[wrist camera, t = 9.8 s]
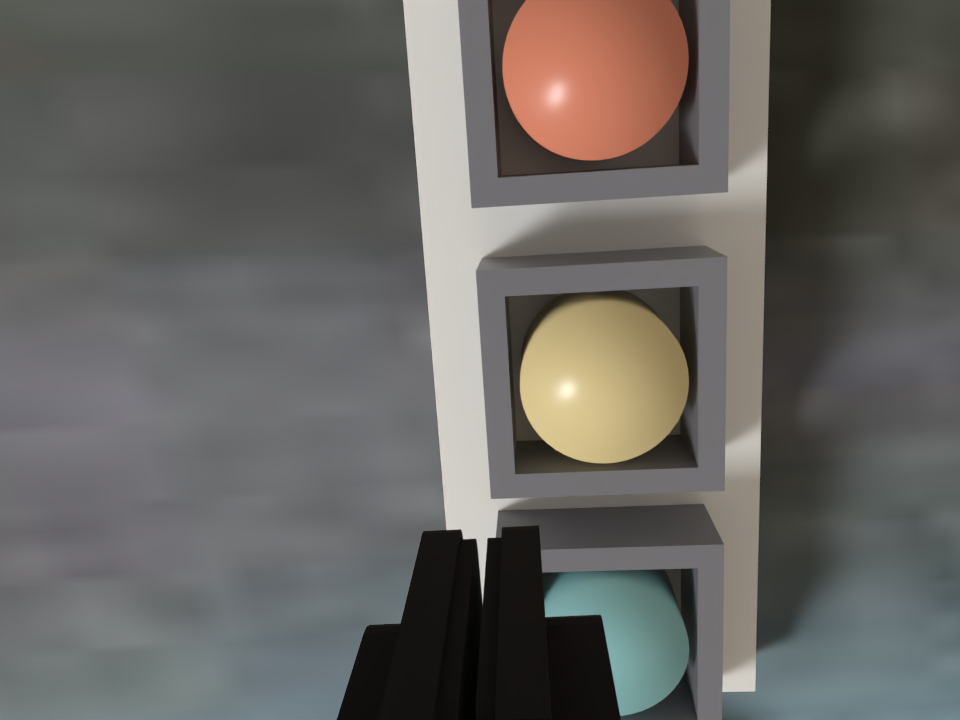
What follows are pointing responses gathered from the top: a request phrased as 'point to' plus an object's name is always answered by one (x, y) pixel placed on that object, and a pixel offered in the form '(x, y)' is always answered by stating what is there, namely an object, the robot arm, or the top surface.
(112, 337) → the top surface
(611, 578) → the teal button
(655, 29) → the brick button
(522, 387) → the ochre button
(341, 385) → the top surface
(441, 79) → the button panel
